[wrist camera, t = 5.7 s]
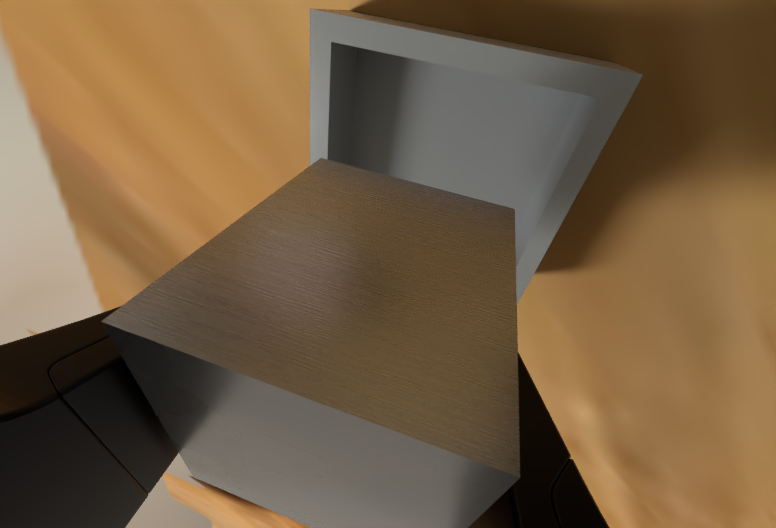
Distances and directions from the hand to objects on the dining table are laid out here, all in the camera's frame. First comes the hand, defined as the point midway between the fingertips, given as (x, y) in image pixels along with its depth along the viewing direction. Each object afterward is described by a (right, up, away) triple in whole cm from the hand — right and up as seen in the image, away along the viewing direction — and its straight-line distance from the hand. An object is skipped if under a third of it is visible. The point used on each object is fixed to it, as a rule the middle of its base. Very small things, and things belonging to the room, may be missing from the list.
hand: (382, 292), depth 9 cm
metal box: (0, +1, +1) cm, 2 cm away
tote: (+3, +6, +8) cm, 10 cm away
